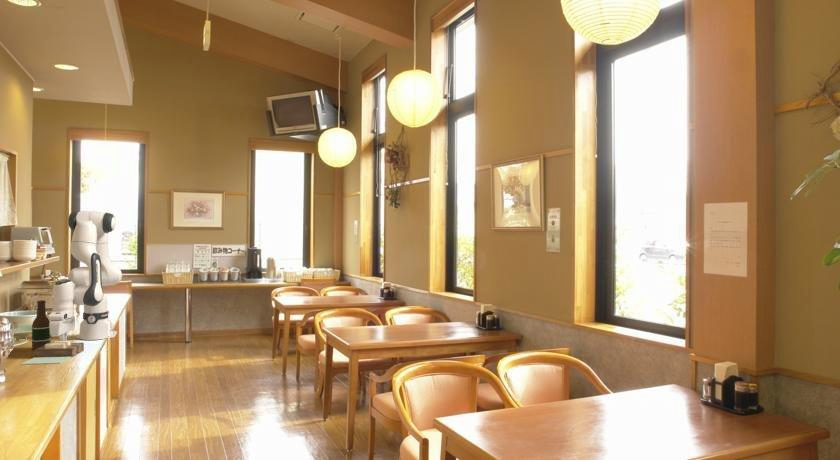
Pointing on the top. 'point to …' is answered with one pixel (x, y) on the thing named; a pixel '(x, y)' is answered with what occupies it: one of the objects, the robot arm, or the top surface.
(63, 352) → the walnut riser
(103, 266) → the robot arm
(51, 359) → the rubber mat
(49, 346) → the birch tile
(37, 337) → the beer bottle
